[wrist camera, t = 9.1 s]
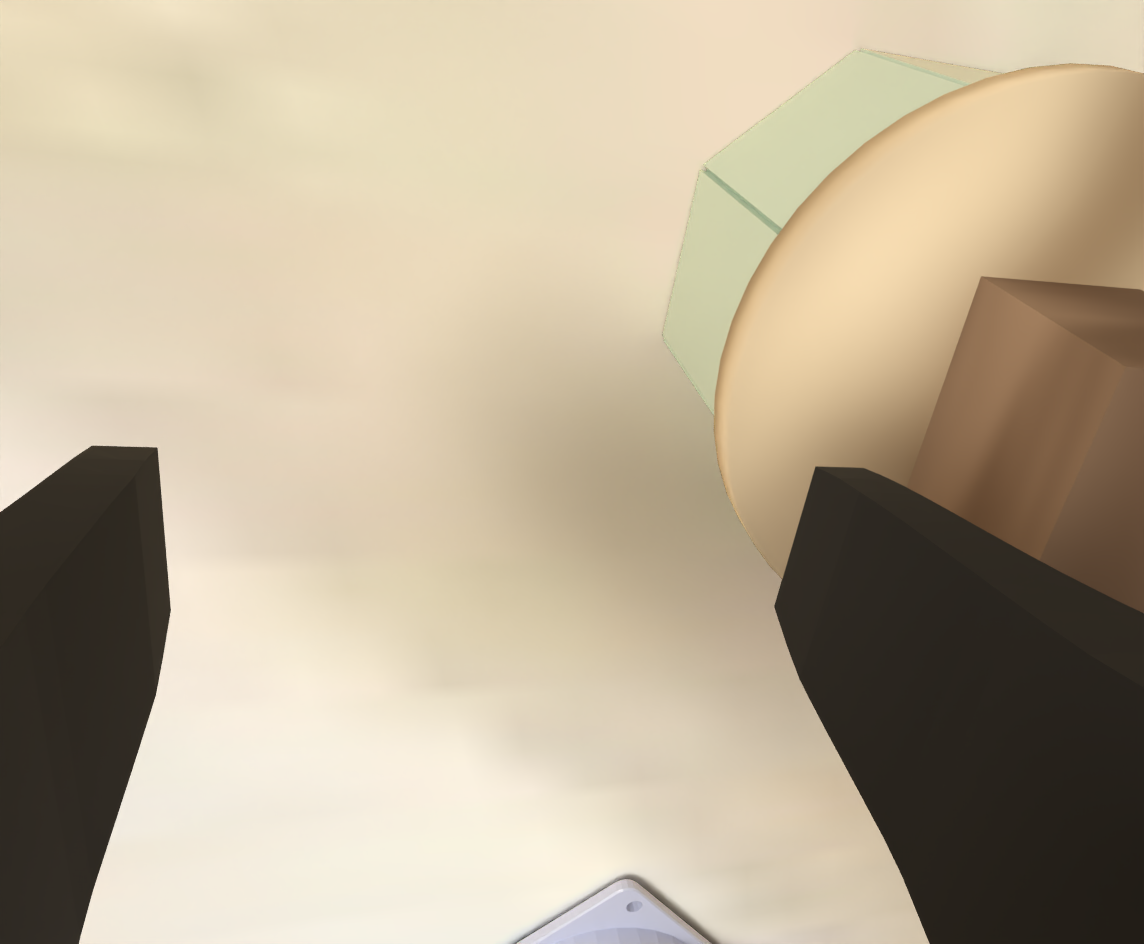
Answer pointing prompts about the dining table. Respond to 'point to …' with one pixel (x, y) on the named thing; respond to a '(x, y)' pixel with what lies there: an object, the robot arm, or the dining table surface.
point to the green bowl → (782, 188)
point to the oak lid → (961, 326)
